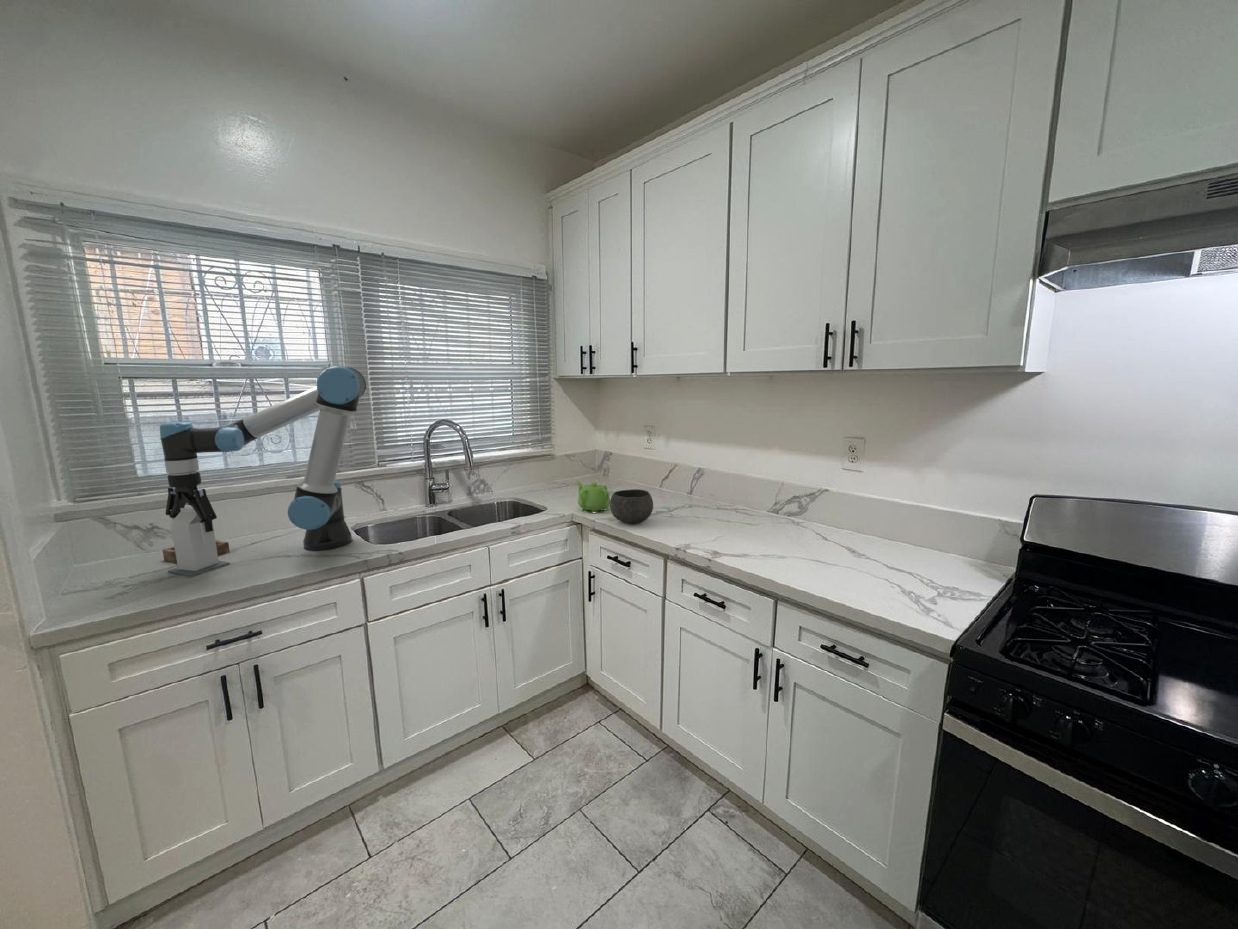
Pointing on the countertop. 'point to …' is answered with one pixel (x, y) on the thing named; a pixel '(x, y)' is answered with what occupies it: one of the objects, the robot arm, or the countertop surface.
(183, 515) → the milk carton
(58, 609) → the countertop surface
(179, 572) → the slate mat
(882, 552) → the countertop surface
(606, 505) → the teapot
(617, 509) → the bowl
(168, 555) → the ring frame
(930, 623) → the countertop surface
